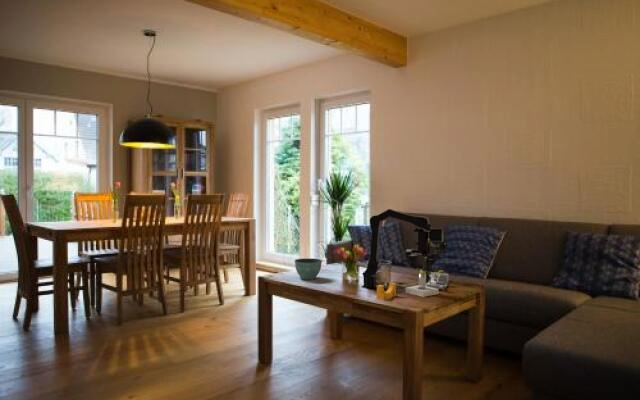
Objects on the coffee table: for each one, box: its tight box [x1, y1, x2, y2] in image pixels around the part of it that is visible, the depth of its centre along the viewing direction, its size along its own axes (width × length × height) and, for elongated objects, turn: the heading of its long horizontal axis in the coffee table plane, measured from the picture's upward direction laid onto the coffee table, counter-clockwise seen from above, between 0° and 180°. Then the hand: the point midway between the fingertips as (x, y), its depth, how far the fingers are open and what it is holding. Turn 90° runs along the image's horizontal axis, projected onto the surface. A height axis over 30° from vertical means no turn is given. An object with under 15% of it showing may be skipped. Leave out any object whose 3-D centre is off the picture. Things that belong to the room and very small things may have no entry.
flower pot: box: [294, 258, 323, 281], centre depth 280 cm, size 16×16×11 cm
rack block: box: [405, 284, 440, 298], centre depth 248 cm, size 12×12×2 cm
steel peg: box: [418, 272, 427, 290], centre depth 248 cm, size 4×4×10 cm
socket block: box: [385, 280, 419, 292], centre depth 259 cm, size 12×12×2 cm
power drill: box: [419, 237, 450, 282], centre depth 281 cm, size 9×17×25 cm, turn 68°
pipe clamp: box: [376, 283, 397, 301], centre depth 237 cm, size 12×4×6 cm, turn 134°
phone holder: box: [426, 272, 451, 292], centre depth 262 cm, size 18×10×12 cm
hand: (421, 270), depth 248 cm, fingers open, 9 cm apart
